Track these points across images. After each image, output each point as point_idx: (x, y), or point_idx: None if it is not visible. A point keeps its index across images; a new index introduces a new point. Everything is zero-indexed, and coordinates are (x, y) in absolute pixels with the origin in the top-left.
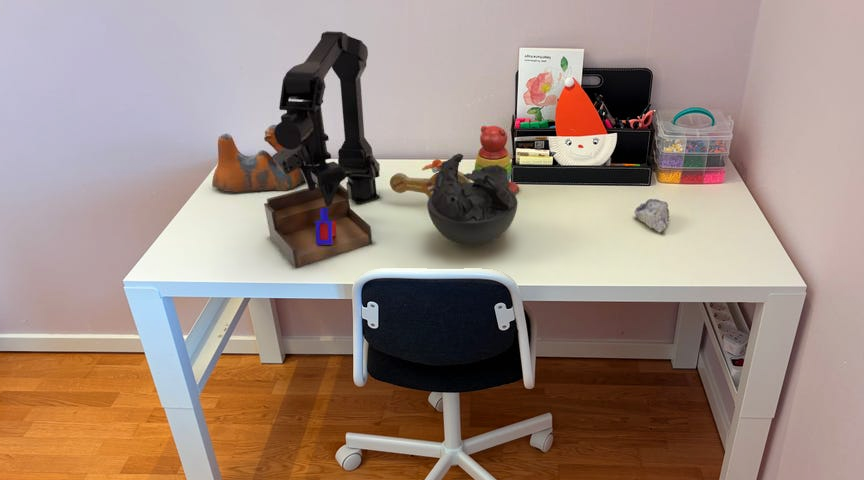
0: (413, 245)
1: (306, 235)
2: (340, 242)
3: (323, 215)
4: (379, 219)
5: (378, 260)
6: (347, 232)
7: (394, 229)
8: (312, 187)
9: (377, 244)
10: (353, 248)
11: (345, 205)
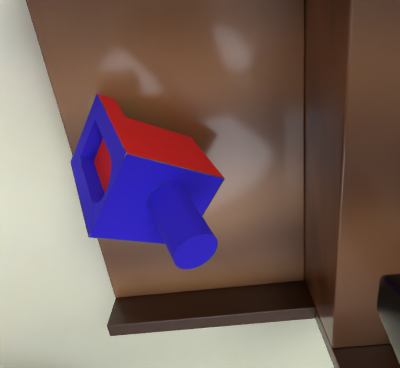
0: (70, 362)
1: (232, 74)
2: None
3: (160, 217)
4: (276, 338)
5: (8, 264)
6: None
7: (189, 352)
8: (393, 321)
9: None
10: None
11: (322, 317)
